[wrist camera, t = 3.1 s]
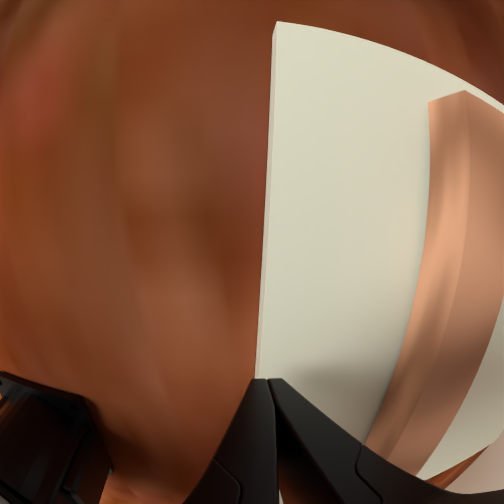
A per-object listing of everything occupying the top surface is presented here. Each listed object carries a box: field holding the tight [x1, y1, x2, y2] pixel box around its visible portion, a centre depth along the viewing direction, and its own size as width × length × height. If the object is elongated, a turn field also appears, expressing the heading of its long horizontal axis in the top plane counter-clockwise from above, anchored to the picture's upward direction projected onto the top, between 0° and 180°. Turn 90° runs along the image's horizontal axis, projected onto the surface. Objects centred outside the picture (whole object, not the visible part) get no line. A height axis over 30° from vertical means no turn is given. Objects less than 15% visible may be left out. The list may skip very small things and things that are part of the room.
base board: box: [255, 21, 504, 504], centre depth 11 cm, size 25×26×1 cm
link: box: [364, 90, 504, 476], centre depth 9 cm, size 22×4×2 cm, turn 178°
